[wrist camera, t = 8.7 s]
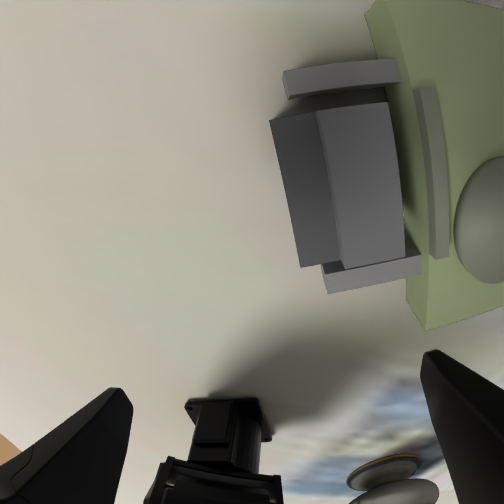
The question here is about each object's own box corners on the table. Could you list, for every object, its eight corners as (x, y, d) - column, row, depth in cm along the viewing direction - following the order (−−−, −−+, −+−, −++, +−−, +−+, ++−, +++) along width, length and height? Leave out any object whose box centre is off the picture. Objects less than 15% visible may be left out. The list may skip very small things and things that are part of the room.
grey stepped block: (377, 226, 17) (405, 256, 13) (296, 241, 18) (301, 277, 14) (359, 107, 15) (387, 101, 11) (270, 121, 16) (268, 119, 11)
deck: (504, 272, 18) (535, 300, 14) (328, 317, 20) (337, 360, 16) (483, 23, 11) (522, 10, 7) (267, 25, 13) (264, -4, 9)
